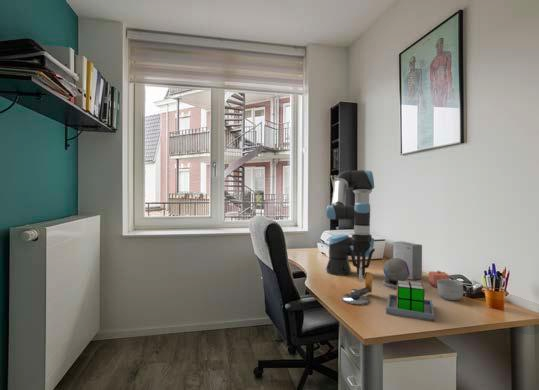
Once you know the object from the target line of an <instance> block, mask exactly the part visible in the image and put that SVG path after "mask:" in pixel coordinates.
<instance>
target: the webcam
mask: <svg viewBox="0 0 539 390" xmlns="http://www.w3.org/2000/svg"><path fill="white" fill-rule="evenodd" d="M383 274H384V276H385V277H386V279H384V280H383V281H382V282H383V286H384V287H385V288H389V289H392V290H397V281H398V280H399V281H407V279H408V277H409V269H408V266H407V264H406V262H405V261H404V260H402V259H400V258H393V257H392V258H390V259H388V260H386V261H385V262H384V265H383Z"/></svg>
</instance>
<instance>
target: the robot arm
mask: <svg viewBox="0 0 539 390" xmlns="http://www.w3.org/2000/svg"><path fill="white" fill-rule="evenodd" d="M374 180H375V179H374V174H373V172H372V170H363V169H361V170H345V171H342V172H340V173H339V174H337V175H336V176H335V178H334V179H333V181H332V188H333V189H332V190H333V191H332V197H331V204H330V205H327V207H326V218H327V219H328V220H349V221H354V222H353V233H352V234H351V237H350V236H349V234H347V233H346V234H345V233H343V234H342V233H341V234H334V235H331V236H330V237H329V241H328V242H329V243H328V244H329V247H328V249H329V251H328V253H329V254H328V255H329V257H328V262H327V265H326V268H325V269H326V271H327V272H326V273H328V274H330V273H331V275H336V276H346V275H351V274H352V268H351V264H350V261H349V257H351V262H352V265H353V267H355V268H356V274H357V275H358V282H360V283H362V282H363V281H364V279H363V277H364V276H365V273H366V269H368V268H369V267H370V264H371V261H372V258H373V253H374V252H375V251H376V248H374V245H375V238H374V237H372V236H373V235H372V234H371V232H370V231H371V229H370V228H371V226H370V225H371V224H370V223H371V211H372V210H371V204H370V194H371V193H372V192H373V189H375V181H374ZM348 189H349V190H351V189H352V192H353V194H354V205H346V202H347V201H346V198H347V190H348ZM366 258H367V261H366Z"/></svg>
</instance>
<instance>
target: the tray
mask: <svg viewBox="0 0 539 390" xmlns="http://www.w3.org/2000/svg"><path fill="white" fill-rule="evenodd" d="M433 304H434V303H433V300H431V299H425V298H424V313H423V312H417V311H411V310H404V309H398V308H397V294H388V299H387V302H386V309H385V311H386V314H387V315H388V314H389V315H395V316H400V317H406V318H412V319H419V320H424V321H425V320H426V321H429V320H431V322H435V310H434V305H433Z"/></svg>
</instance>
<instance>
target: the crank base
mask: <svg viewBox="0 0 539 390" xmlns="http://www.w3.org/2000/svg"><path fill="white" fill-rule="evenodd" d="M341 300H342V302H343V303H346V304H349V305H354V306H364V305H367V304H369V302H370V298H369V297H367V296H366V295H362V296H360V298H358V299H356V298H352V297H351V293H345V294H343V295H342V296H341Z"/></svg>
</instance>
